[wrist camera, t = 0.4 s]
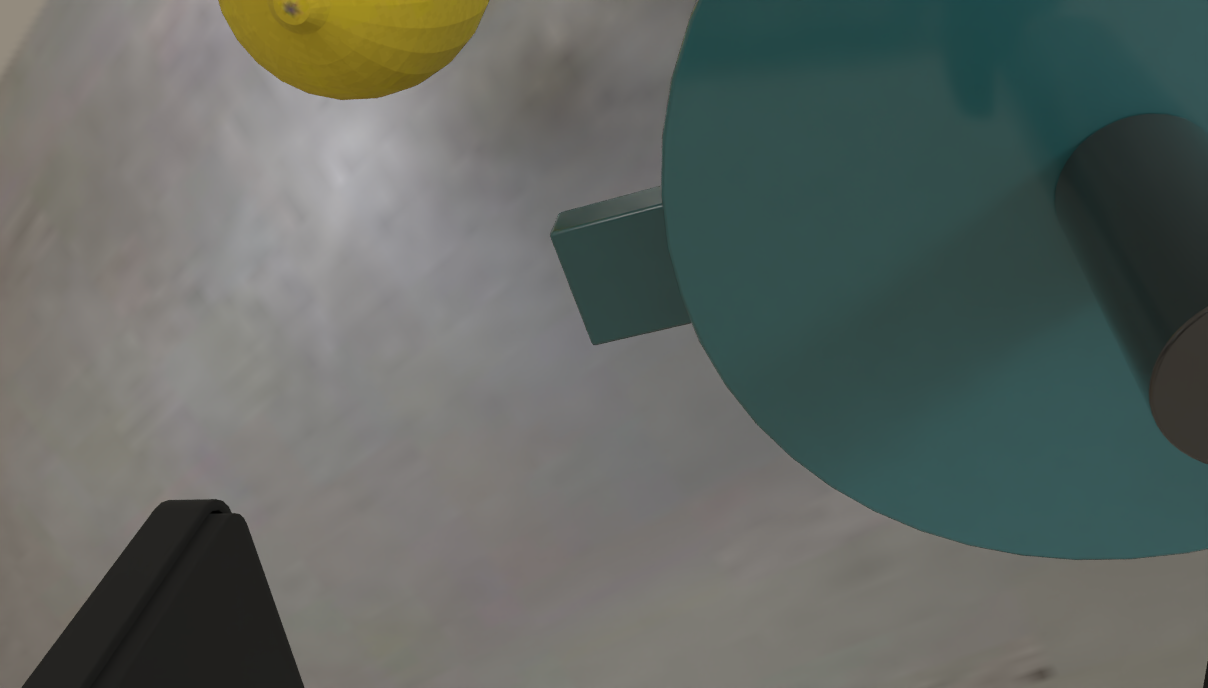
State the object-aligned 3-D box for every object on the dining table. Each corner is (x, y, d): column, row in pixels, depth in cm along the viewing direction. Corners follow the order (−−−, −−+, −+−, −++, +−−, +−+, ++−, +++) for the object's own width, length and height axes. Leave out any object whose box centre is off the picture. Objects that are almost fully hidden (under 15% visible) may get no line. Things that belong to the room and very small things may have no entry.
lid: (544, -155, 17) (421, -66, 12) (1704, -575, 13) (2400, -758, 8) (789, 574, 24) (788, 866, 18) (1625, 438, 20) (1971, 757, 14)
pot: (542, -156, 27) (414, -67, 18) (1483, -498, 21) (1987, -619, 12) (707, 336, 32) (675, 593, 23) (1478, 163, 27) (1816, 407, 18)
